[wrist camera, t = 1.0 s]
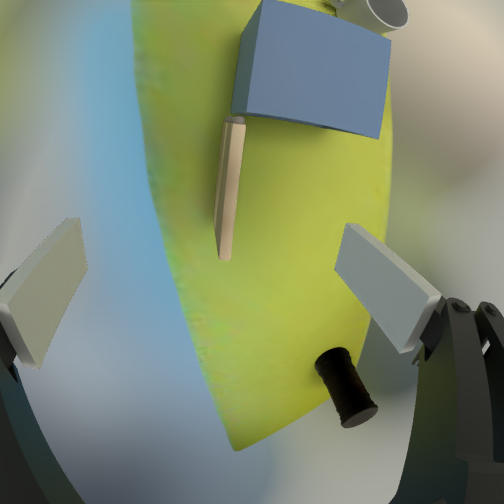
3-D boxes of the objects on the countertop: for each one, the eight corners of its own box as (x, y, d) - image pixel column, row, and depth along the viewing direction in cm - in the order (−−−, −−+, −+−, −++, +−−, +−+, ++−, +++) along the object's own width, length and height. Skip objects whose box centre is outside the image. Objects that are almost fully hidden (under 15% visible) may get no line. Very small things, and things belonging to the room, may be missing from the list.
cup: (370, 46, 30) (405, 38, 22) (312, 18, 27) (341, -1, 20) (377, 14, 27) (411, 3, 20) (323, -14, 24) (350, -35, 17)
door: (233, 116, 32) (247, 116, 23) (221, 221, 39) (230, 260, 30) (223, 115, 32) (234, 115, 23) (213, 221, 39) (219, 260, 29)
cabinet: (242, 33, 28) (263, -3, 16) (337, 55, 31) (391, 40, 19) (230, 113, 33) (246, 112, 22) (327, 128, 36) (378, 139, 25)
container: (336, 370, 65) (363, 426, 49) (308, 371, 62) (333, 432, 46) (354, 347, 61) (387, 404, 46) (325, 346, 58) (357, 409, 43)
